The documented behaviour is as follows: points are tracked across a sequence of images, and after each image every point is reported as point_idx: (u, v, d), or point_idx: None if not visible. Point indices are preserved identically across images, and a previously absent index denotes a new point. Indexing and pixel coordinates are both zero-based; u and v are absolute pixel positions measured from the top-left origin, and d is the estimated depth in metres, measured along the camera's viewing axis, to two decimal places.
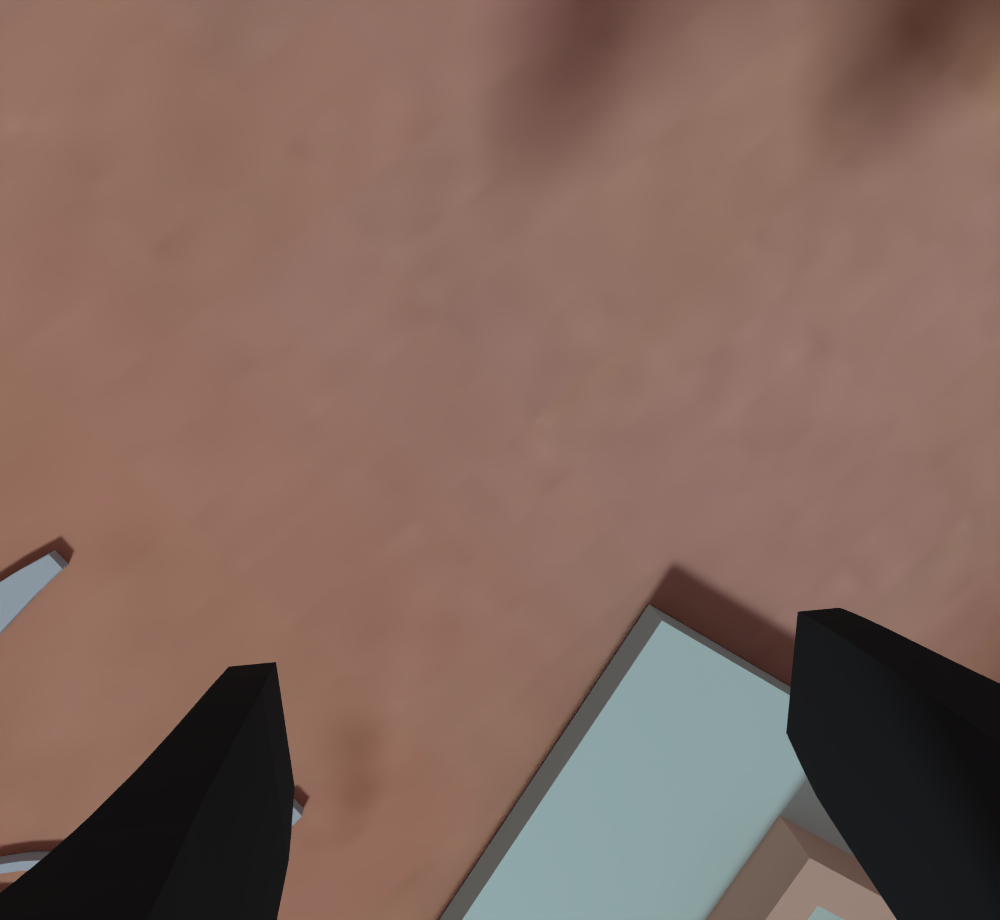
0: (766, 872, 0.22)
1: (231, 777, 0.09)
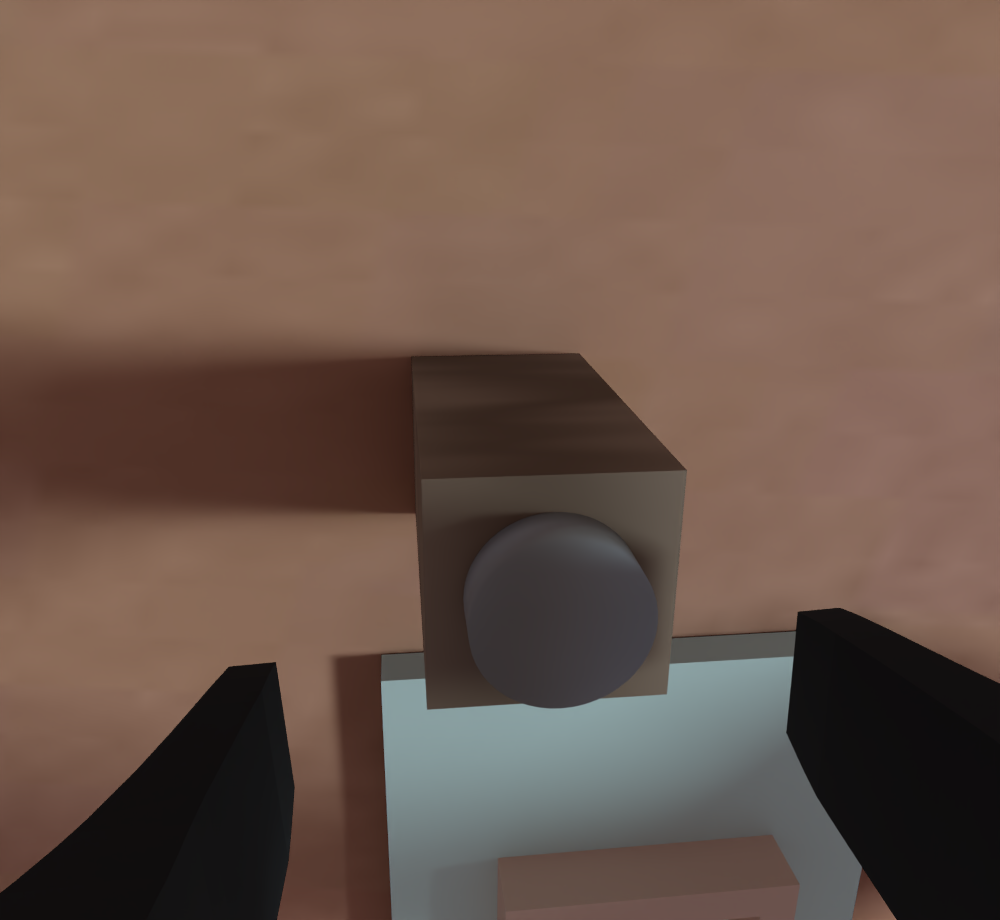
0: None
1: (231, 777, 0.09)
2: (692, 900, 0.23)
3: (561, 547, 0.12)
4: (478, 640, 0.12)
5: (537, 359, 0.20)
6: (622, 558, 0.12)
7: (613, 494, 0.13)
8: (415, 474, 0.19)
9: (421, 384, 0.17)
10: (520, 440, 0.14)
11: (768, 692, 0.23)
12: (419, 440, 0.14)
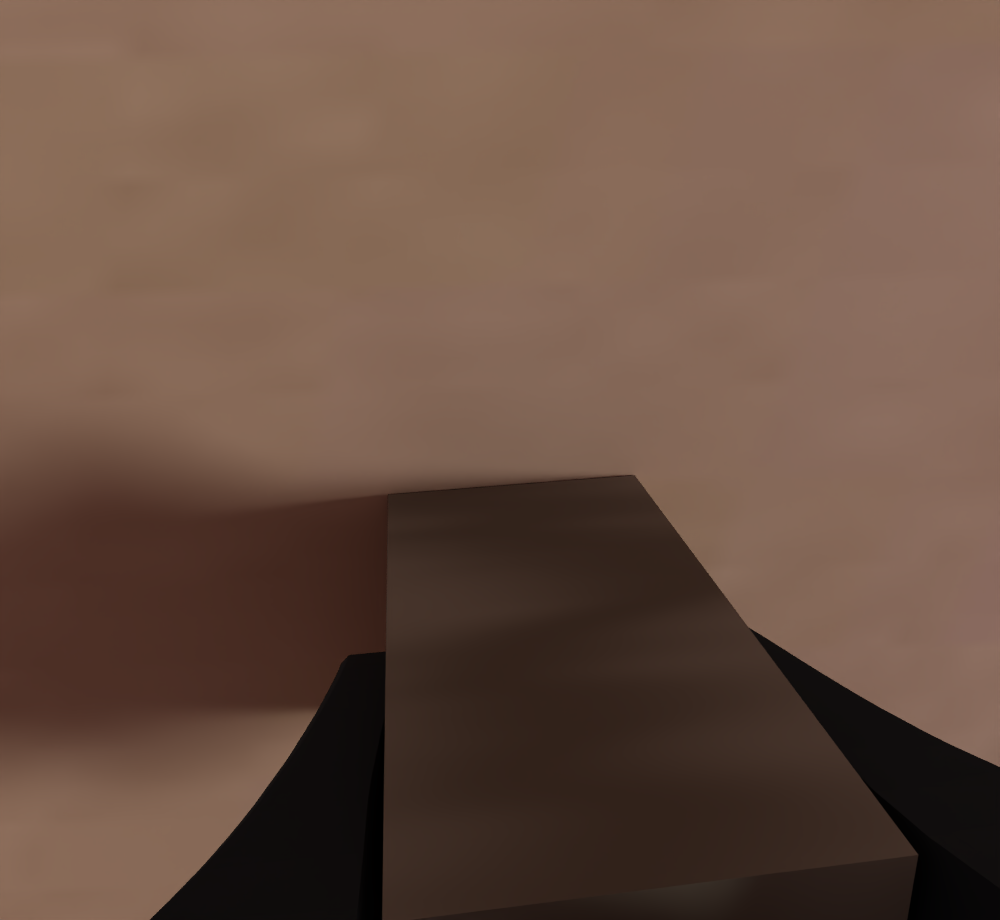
0: None
1: (382, 761, 0.09)
2: None
3: None
4: None
5: (574, 492, 0.13)
6: None
7: (771, 908, 0.06)
8: None
9: (399, 568, 0.11)
10: (573, 745, 0.08)
11: None
12: (387, 754, 0.08)
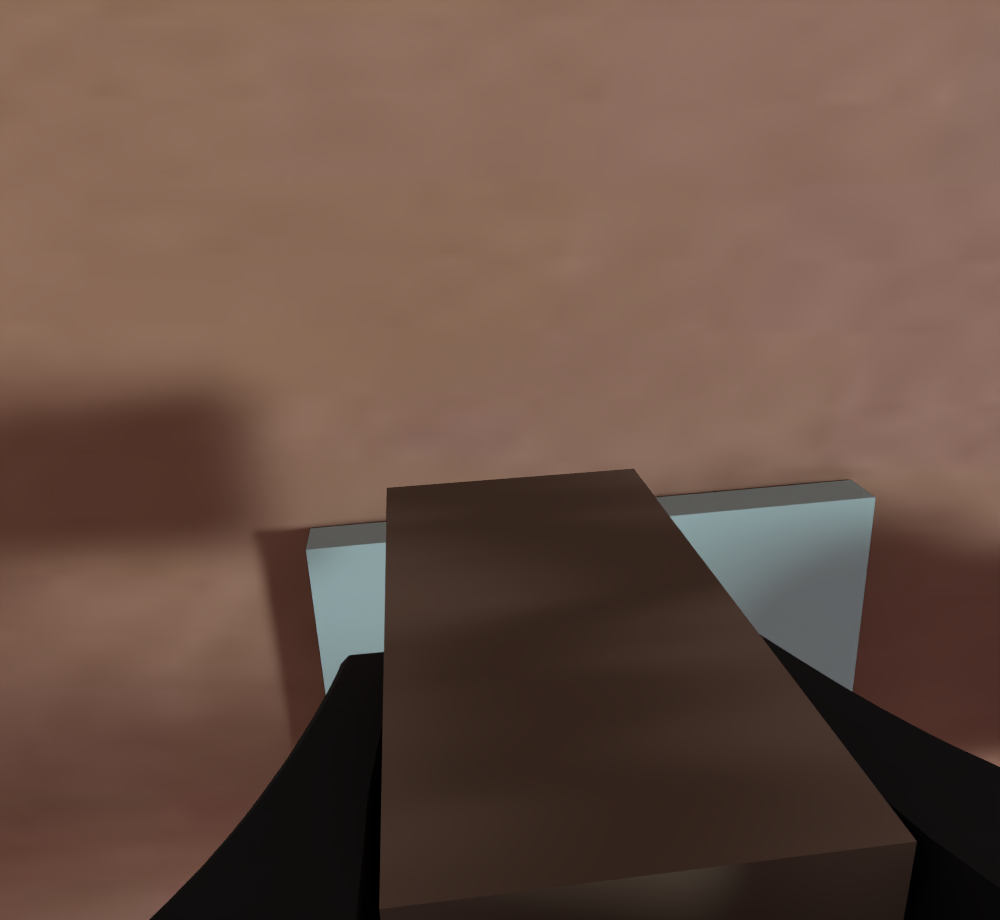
0: None
1: (381, 761, 0.09)
2: None
3: None
4: None
5: (573, 485, 0.13)
6: None
7: (770, 894, 0.06)
8: None
9: (397, 559, 0.11)
10: (569, 733, 0.08)
11: (730, 549, 0.21)
12: (384, 742, 0.08)
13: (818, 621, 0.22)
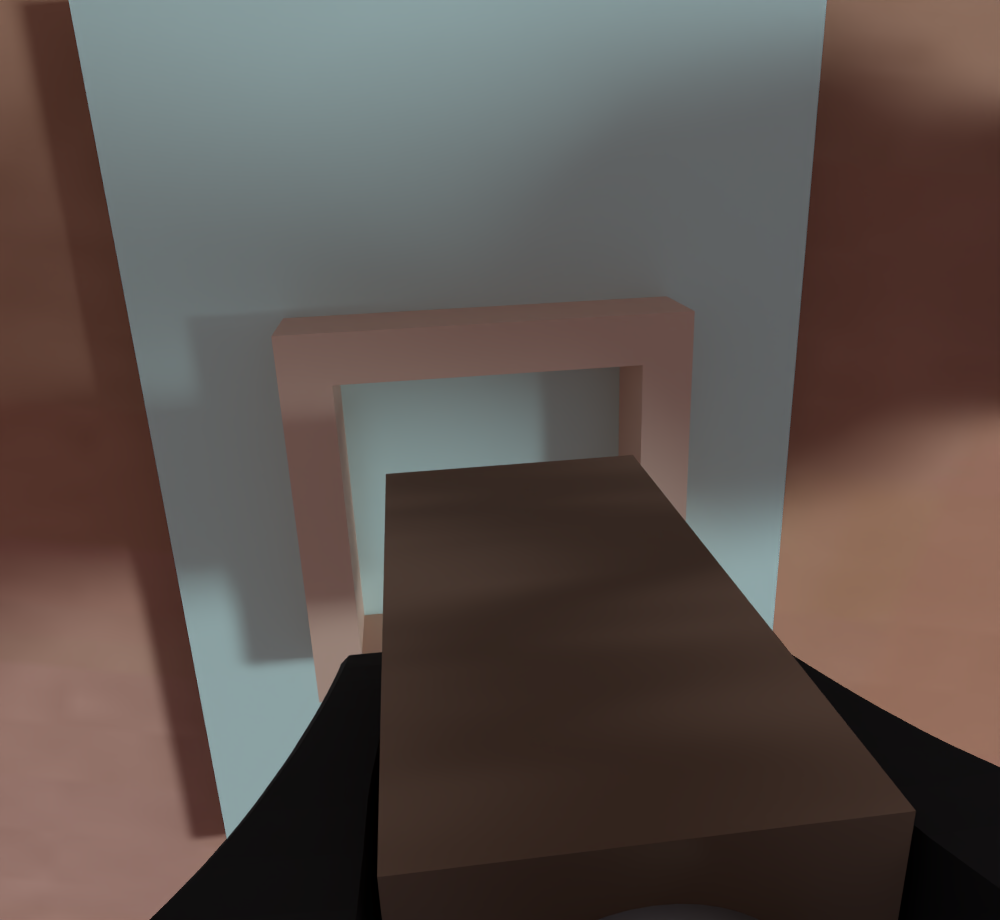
0: None
1: None
2: (542, 330, 0.16)
3: None
4: None
5: (572, 471, 0.13)
6: None
7: (768, 865, 0.06)
8: None
9: (396, 542, 0.11)
10: (568, 710, 0.08)
11: (639, 39, 0.16)
12: (382, 718, 0.08)
13: (757, 163, 0.17)
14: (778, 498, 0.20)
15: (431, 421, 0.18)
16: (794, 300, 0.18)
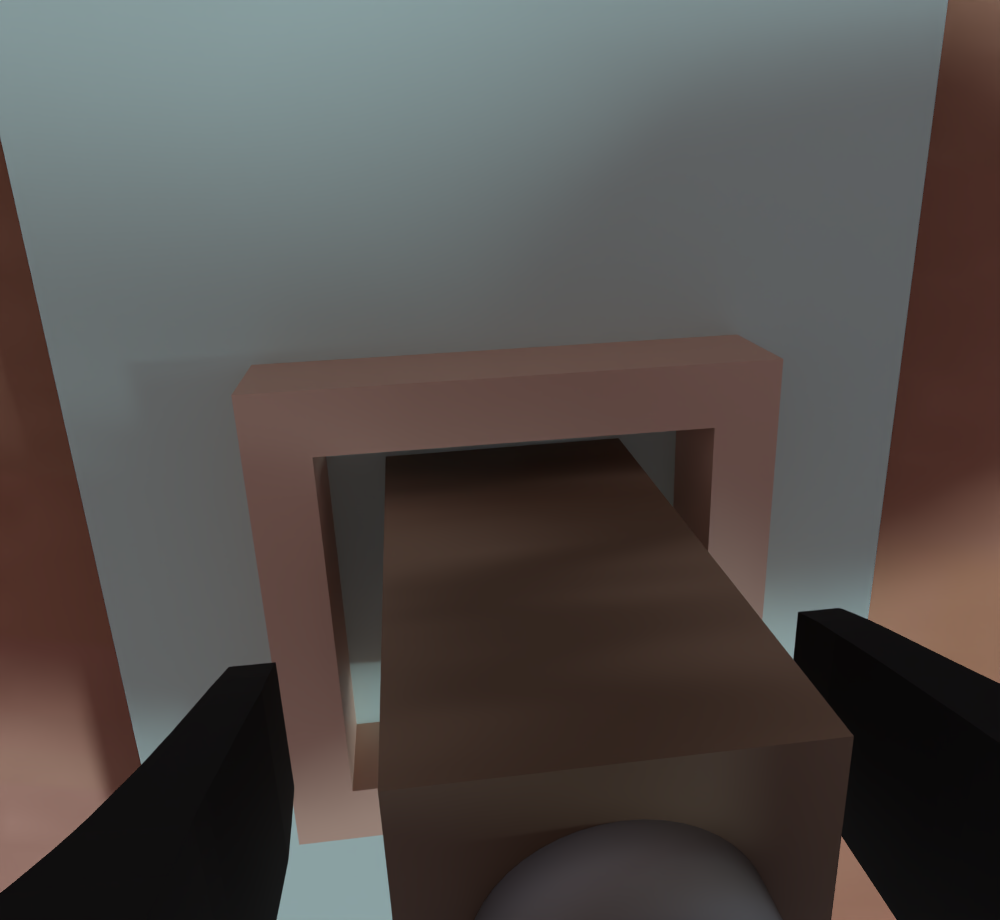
0: None
1: (231, 777, 0.09)
2: (586, 385, 0.12)
3: None
4: None
5: (561, 453, 0.14)
6: None
7: (724, 783, 0.07)
8: None
9: (395, 517, 0.12)
10: (549, 656, 0.08)
11: (711, 6, 0.12)
12: (382, 665, 0.08)
13: (857, 166, 0.14)
14: (867, 578, 0.16)
15: None
16: (895, 338, 0.15)
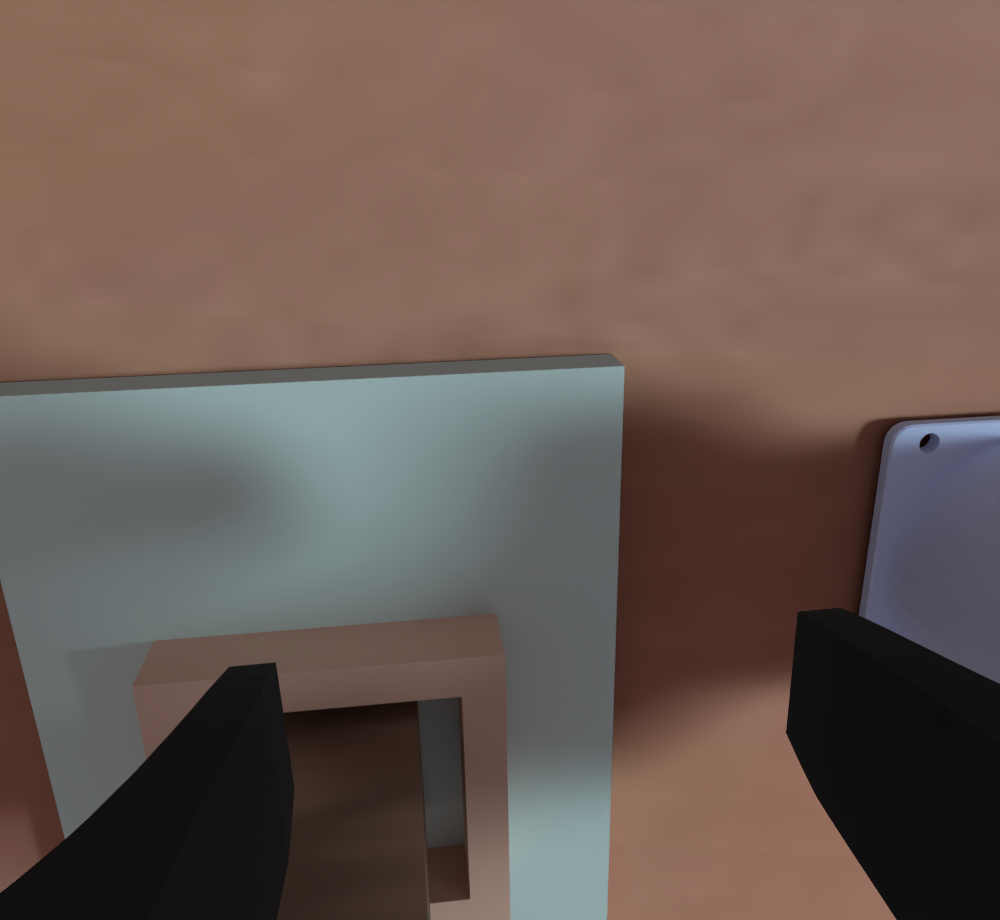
0: None
1: (231, 777, 0.09)
2: (370, 674, 0.19)
3: None
4: None
5: None
6: None
7: None
8: None
9: None
10: (292, 905, 0.15)
11: (459, 421, 0.19)
12: None
13: (570, 510, 0.20)
14: (607, 766, 0.23)
15: None
16: (611, 613, 0.21)
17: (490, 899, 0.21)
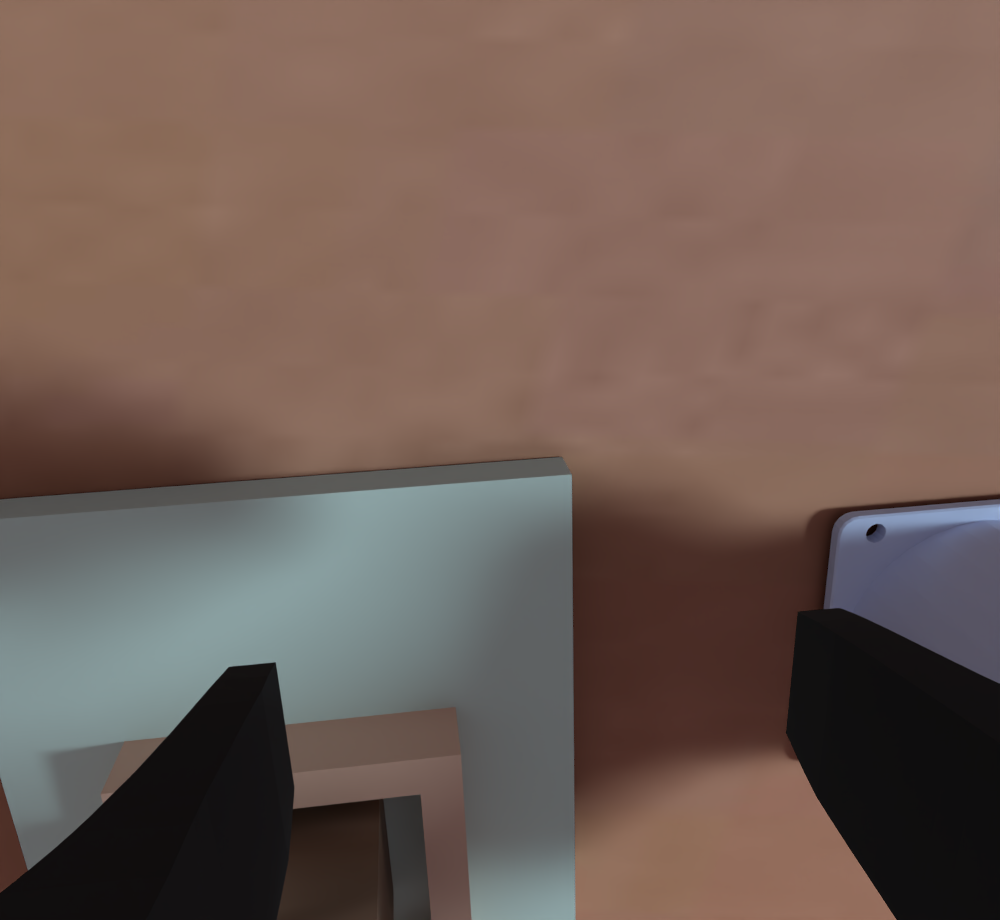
0: None
1: (231, 777, 0.09)
2: (331, 776, 0.19)
3: None
4: None
5: None
6: None
7: None
8: None
9: None
10: None
11: (413, 530, 0.19)
12: None
13: (524, 609, 0.20)
14: (570, 845, 0.23)
15: None
16: (568, 703, 0.22)
17: None
